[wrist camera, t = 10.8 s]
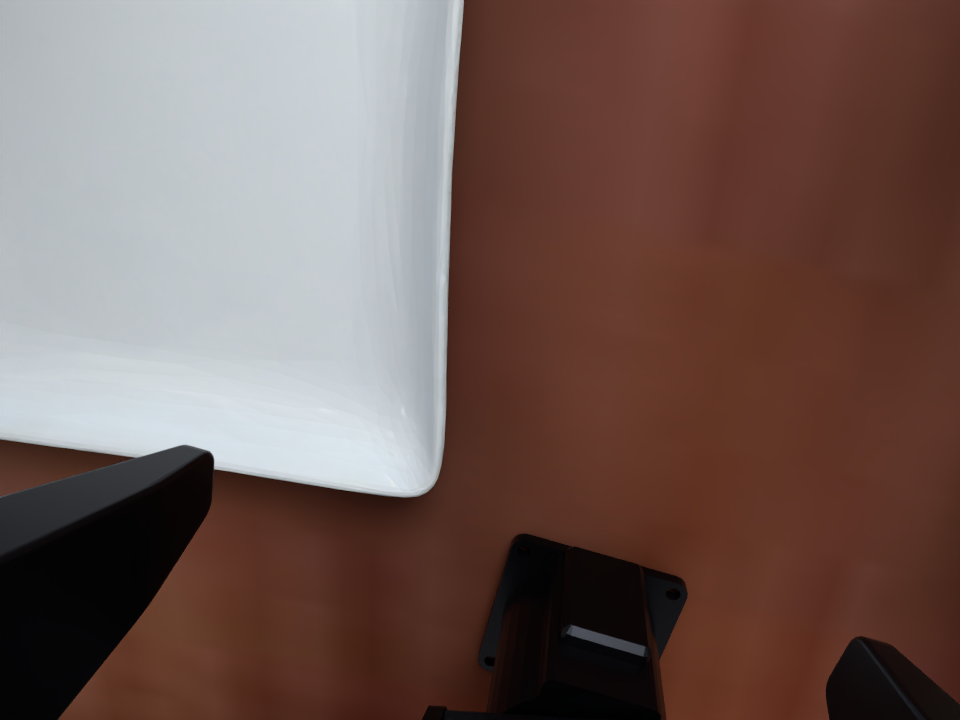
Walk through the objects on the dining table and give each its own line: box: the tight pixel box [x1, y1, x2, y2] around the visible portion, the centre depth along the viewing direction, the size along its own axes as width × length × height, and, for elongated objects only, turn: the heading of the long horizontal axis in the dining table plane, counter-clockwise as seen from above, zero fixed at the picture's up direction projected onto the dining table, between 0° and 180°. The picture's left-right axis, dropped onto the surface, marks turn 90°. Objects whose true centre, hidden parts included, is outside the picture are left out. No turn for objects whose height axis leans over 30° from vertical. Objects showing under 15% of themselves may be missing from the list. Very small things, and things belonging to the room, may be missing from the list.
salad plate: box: [0, 0, 464, 497], centre depth 20 cm, size 21×21×3 cm
